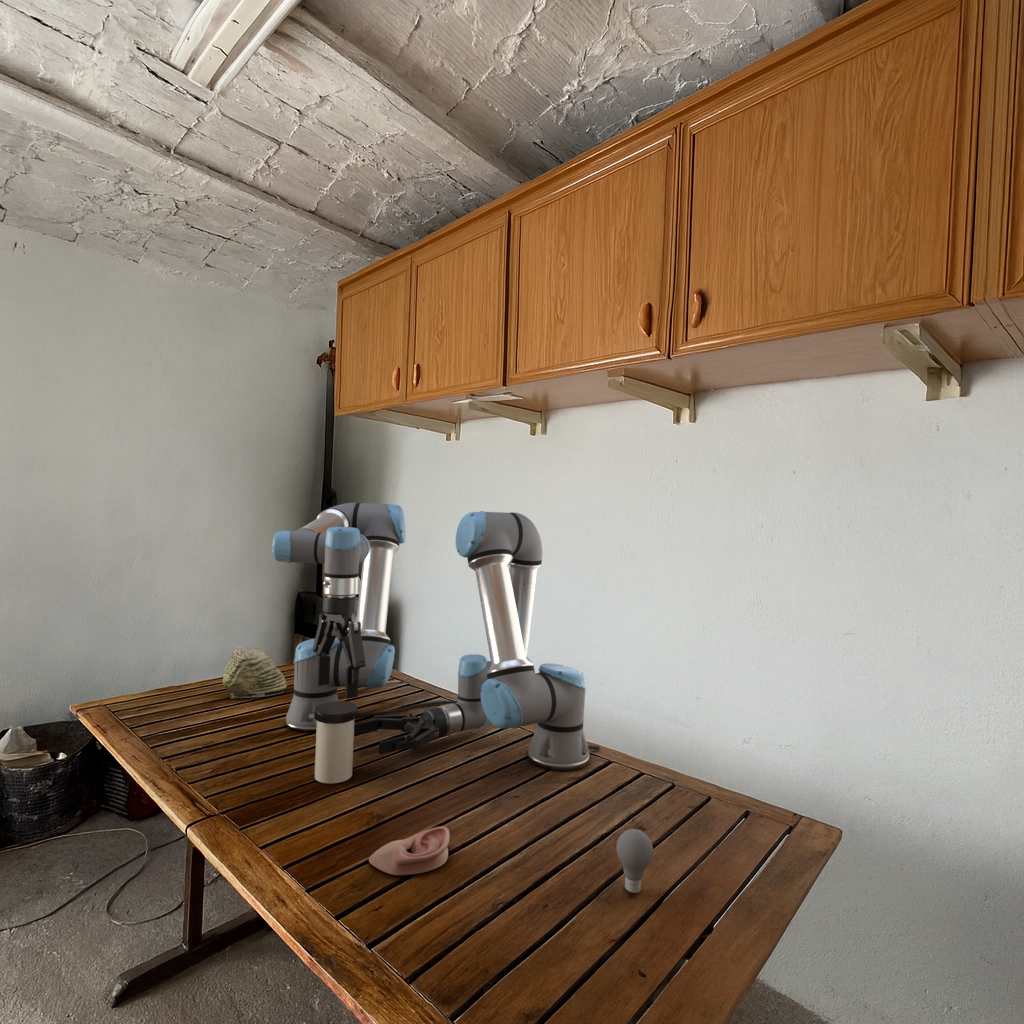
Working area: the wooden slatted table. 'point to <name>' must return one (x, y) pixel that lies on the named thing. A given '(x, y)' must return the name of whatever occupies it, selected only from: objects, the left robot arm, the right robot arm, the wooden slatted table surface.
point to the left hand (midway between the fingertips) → (336, 691)
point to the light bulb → (634, 857)
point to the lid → (335, 712)
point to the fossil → (252, 674)
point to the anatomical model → (413, 853)
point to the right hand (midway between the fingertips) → (365, 738)
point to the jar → (334, 752)
